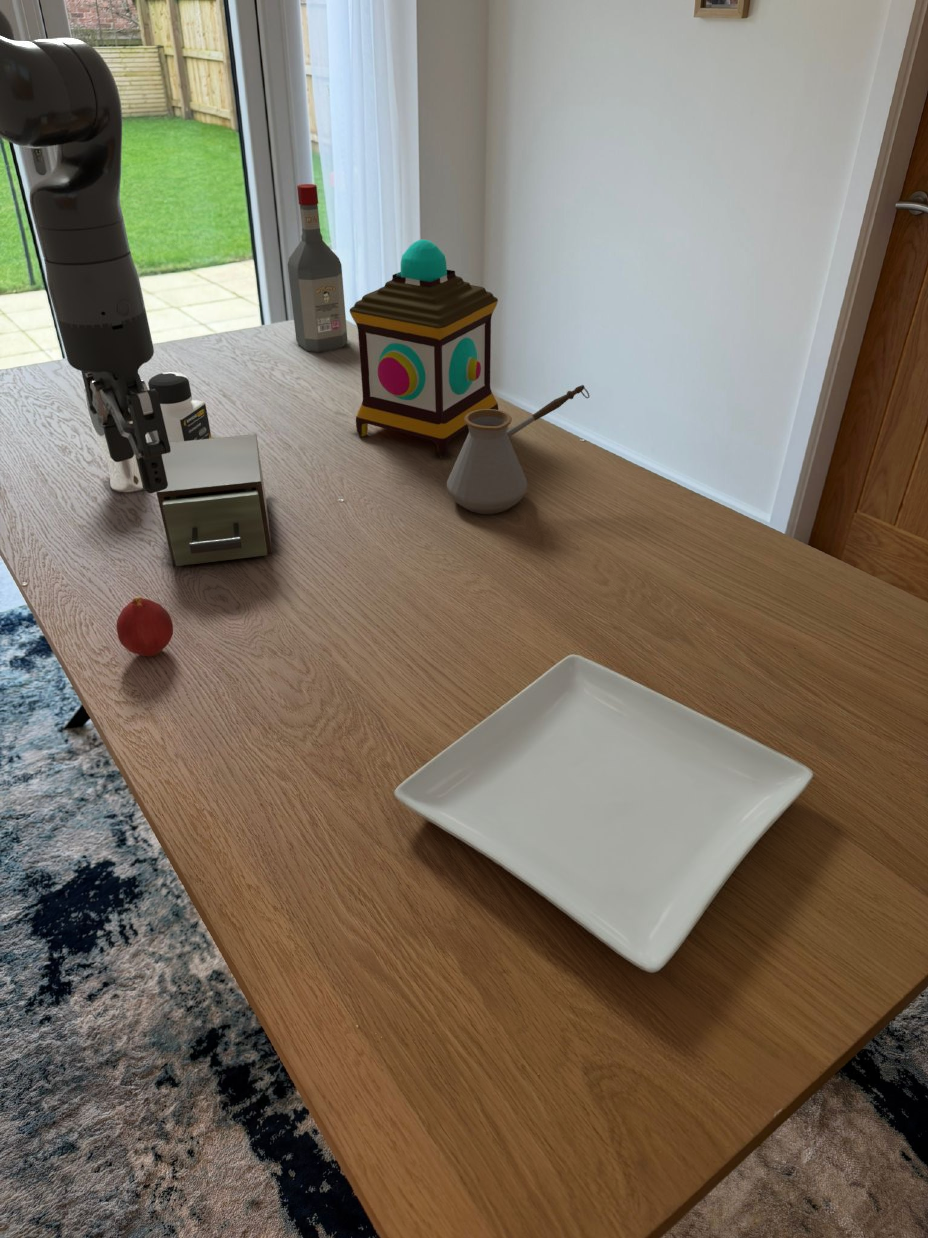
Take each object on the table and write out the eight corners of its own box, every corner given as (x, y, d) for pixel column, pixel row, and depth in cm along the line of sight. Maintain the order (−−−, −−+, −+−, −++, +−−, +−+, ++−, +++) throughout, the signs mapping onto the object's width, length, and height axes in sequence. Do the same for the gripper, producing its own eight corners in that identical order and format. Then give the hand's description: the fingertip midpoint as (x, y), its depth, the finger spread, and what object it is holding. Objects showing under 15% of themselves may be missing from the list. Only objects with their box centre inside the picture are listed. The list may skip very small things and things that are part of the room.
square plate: (810, 797, 82) (819, 767, 80) (648, 1006, 65) (655, 975, 63) (570, 673, 97) (573, 645, 94) (389, 818, 80) (387, 787, 78)
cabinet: (272, 554, 117) (261, 481, 111) (173, 566, 115) (156, 492, 109) (266, 502, 129) (256, 433, 123) (176, 512, 126) (161, 443, 120)
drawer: (269, 576, 111) (259, 514, 106) (174, 588, 109) (160, 525, 104) (262, 506, 126) (253, 448, 121) (179, 515, 124) (166, 457, 119)
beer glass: (98, 491, 132) (72, 394, 123) (123, 471, 137) (100, 376, 128) (141, 496, 130) (117, 398, 122) (165, 476, 136) (143, 380, 127)
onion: (123, 645, 101) (106, 586, 97) (175, 634, 103) (161, 576, 98) (126, 676, 97) (109, 615, 92) (181, 664, 98) (167, 604, 94)
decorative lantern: (446, 465, 138) (442, 263, 121) (344, 438, 147) (327, 245, 129) (509, 421, 152) (514, 233, 135) (413, 398, 161) (406, 219, 143)
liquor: (351, 347, 183) (339, 187, 165) (310, 355, 179) (292, 192, 162) (334, 335, 189) (320, 179, 172) (293, 342, 186) (275, 184, 168)
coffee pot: (467, 528, 122) (467, 425, 114) (434, 493, 131) (431, 395, 122) (600, 497, 130) (610, 398, 121) (560, 465, 138) (567, 371, 129)
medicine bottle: (189, 460, 140) (174, 387, 133) (150, 454, 142) (133, 381, 135) (213, 442, 146) (200, 370, 139) (175, 436, 147) (161, 365, 140)
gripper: (31, 297, 82) (77, 459, 91) (85, 337, 73) (129, 513, 82) (112, 282, 85) (148, 440, 95) (173, 319, 76) (205, 489, 86)
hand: (139, 474), depth 88 cm, fingers open, 8 cm apart
